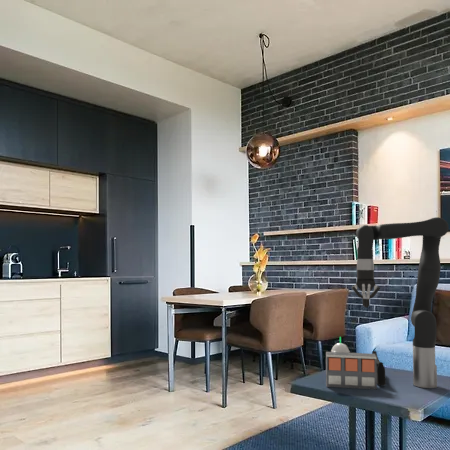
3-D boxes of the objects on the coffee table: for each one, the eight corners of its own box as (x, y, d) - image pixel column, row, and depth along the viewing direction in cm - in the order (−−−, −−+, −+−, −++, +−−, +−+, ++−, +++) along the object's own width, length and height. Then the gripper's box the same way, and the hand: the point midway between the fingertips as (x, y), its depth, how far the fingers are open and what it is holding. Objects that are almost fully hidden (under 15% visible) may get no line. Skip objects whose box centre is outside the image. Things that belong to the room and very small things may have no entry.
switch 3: (372, 369, 213) (372, 358, 214) (374, 372, 208) (374, 360, 209) (361, 369, 214) (361, 357, 214) (362, 371, 209) (362, 359, 210)
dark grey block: (374, 386, 215) (374, 353, 216) (376, 389, 208) (376, 356, 210) (326, 383, 218) (325, 351, 219) (326, 387, 212) (326, 354, 213)
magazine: (386, 368, 210) (377, 337, 239) (378, 367, 211) (370, 337, 239) (385, 404, 214) (376, 369, 242) (377, 403, 214) (370, 369, 243)
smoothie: (348, 379, 226) (348, 335, 228) (351, 384, 218) (351, 338, 219) (330, 379, 227) (330, 335, 228) (332, 383, 219) (332, 338, 220)
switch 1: (340, 368, 216) (340, 356, 216) (340, 370, 211) (340, 358, 211) (328, 367, 216) (328, 356, 217) (329, 370, 211) (328, 358, 212)
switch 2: (356, 368, 214) (356, 357, 215) (357, 371, 210) (357, 359, 210) (344, 368, 215) (344, 356, 216) (345, 370, 210) (345, 359, 211)
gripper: (378, 269, 226) (379, 306, 225) (349, 268, 228) (350, 306, 227) (381, 269, 219) (382, 308, 217) (351, 269, 221) (352, 307, 219)
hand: (366, 307), depth 222 cm, fingers closed
